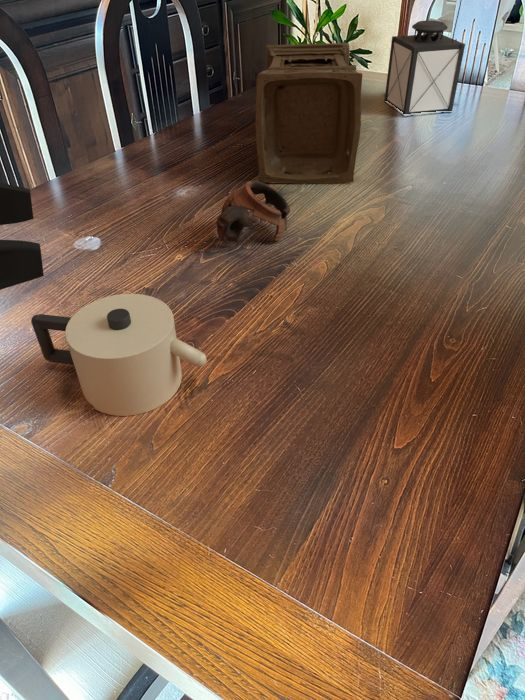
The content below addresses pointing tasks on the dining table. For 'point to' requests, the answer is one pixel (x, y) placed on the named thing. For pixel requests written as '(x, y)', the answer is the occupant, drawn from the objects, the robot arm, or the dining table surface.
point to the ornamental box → (308, 114)
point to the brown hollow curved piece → (244, 200)
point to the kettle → (121, 352)
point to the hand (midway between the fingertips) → (36, 230)
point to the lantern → (424, 69)
